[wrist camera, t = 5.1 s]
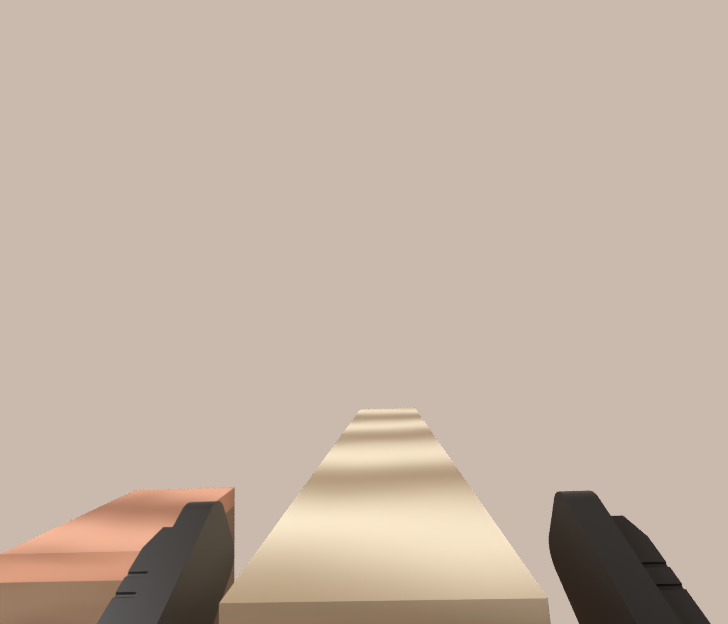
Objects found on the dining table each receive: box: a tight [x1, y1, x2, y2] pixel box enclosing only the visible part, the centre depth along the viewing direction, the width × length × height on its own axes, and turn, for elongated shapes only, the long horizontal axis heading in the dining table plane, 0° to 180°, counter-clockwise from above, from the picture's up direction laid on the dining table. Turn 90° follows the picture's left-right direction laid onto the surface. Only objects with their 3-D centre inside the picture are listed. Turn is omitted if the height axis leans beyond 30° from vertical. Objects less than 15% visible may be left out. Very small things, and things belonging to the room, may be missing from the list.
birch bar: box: [219, 408, 550, 624], centre depth 16 cm, size 24×4×4 cm, turn 176°
